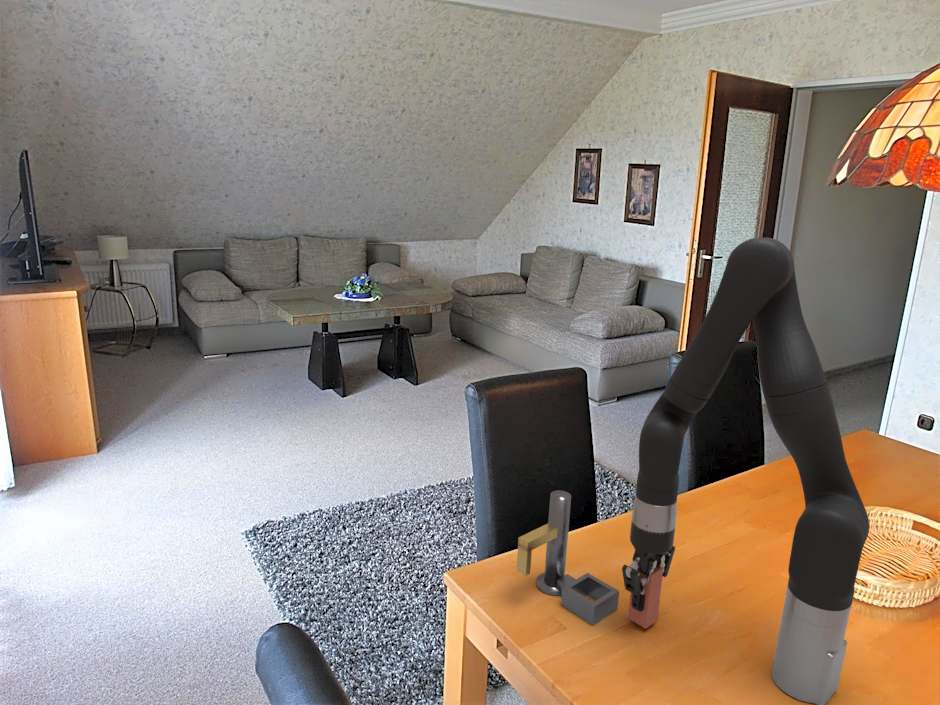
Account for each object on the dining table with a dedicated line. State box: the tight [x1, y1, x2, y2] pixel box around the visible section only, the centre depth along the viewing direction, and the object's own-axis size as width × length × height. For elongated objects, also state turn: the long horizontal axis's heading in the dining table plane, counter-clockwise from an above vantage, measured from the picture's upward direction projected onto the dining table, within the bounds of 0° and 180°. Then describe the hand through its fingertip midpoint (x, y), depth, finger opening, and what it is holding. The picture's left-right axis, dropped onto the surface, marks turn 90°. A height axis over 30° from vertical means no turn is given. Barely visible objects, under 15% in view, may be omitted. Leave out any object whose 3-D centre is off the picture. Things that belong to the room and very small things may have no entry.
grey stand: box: [516, 489, 620, 626], centre depth 127 cm, size 16×14×20 cm
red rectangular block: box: [627, 567, 663, 629], centre depth 123 cm, size 4×4×11 cm
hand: (644, 603), depth 124 cm, fingers closed on red rectangular block, 3 cm apart
